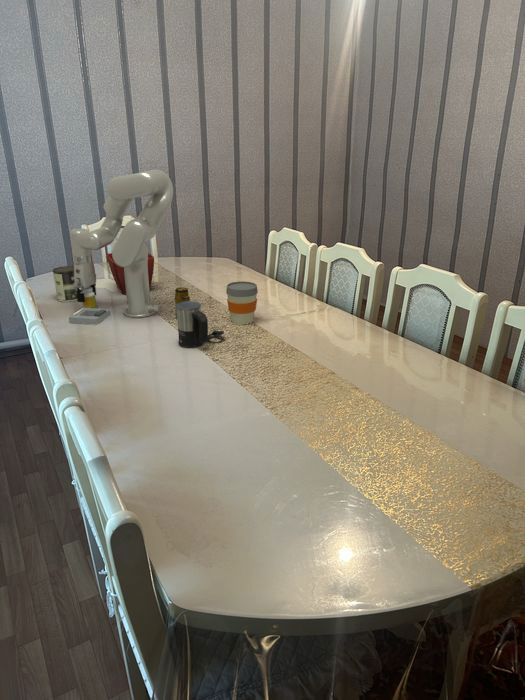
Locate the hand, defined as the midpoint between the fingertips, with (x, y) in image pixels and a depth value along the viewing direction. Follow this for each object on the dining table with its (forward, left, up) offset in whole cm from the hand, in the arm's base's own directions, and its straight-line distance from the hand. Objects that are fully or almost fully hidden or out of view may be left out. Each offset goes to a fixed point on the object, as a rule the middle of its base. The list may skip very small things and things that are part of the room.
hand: (87, 298), depth 223 cm
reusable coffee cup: (-69, +1, -5) cm, 69 cm away
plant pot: (-7, -31, -5) cm, 32 cm away
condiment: (-44, +1, -5) cm, 44 cm away
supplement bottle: (-1, 0, -5) cm, 5 cm away
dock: (-7, +11, -5) cm, 14 cm away
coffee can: (+16, -12, -5) cm, 21 cm away
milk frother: (-59, +25, -5) cm, 64 cm away
